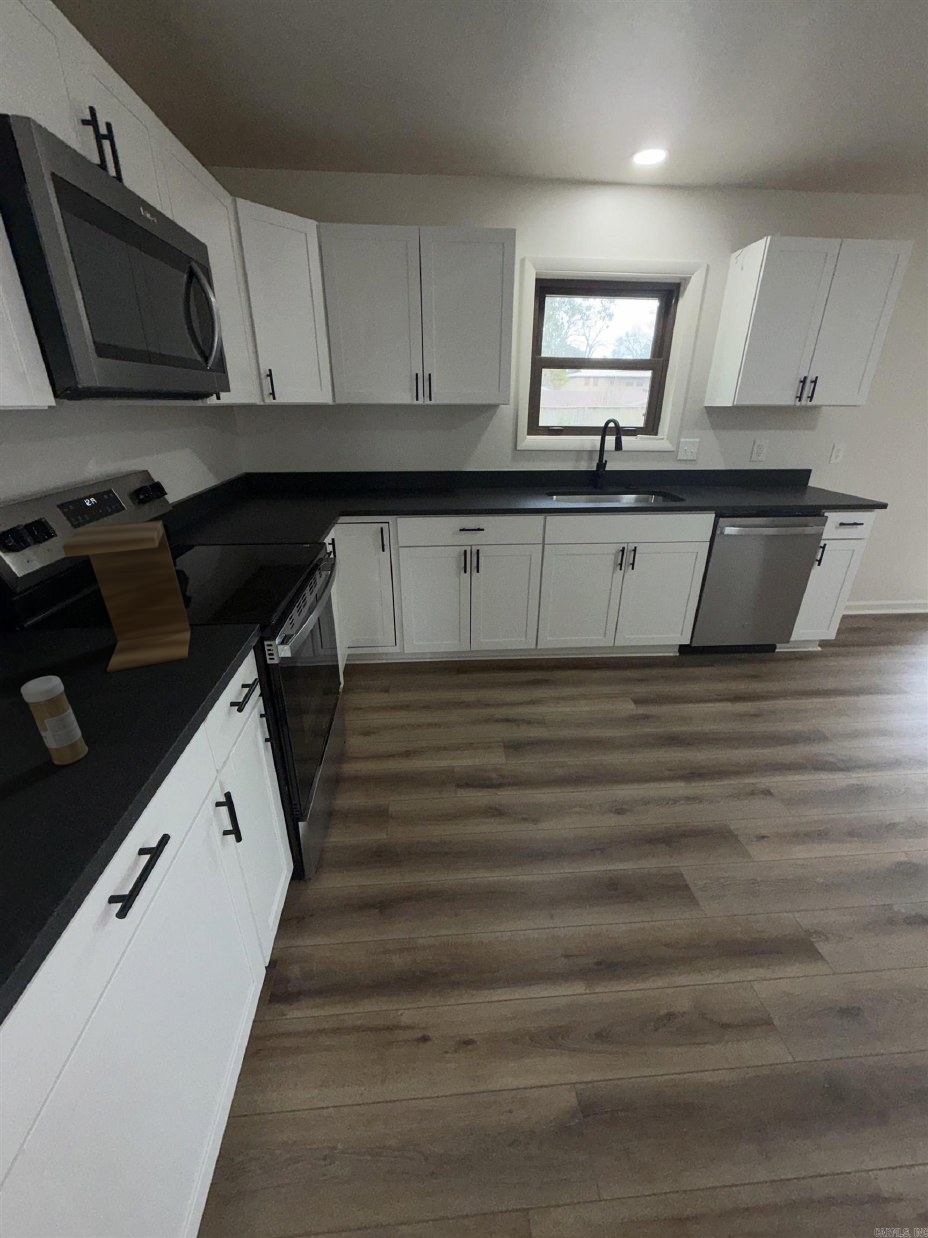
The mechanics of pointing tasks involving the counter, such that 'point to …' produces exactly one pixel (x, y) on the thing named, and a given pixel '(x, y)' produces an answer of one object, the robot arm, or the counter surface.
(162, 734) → the counter surface
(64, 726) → the sprinkles bottle
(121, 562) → the shelf
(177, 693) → the counter surface
